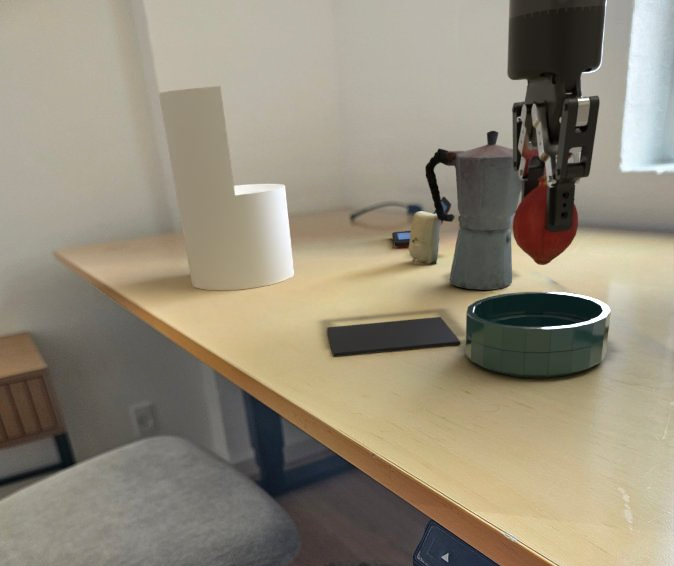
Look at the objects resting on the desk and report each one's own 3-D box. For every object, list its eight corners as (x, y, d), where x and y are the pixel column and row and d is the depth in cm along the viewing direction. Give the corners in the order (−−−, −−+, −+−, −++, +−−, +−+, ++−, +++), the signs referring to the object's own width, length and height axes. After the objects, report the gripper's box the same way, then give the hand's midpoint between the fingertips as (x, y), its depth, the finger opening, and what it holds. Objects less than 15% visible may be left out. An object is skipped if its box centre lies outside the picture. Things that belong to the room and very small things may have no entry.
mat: (440, 319, 81) (440, 316, 80) (460, 344, 72) (460, 341, 71) (327, 330, 80) (327, 327, 80) (333, 356, 71) (333, 353, 71)
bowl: (571, 332, 73) (576, 286, 70) (629, 373, 61) (636, 321, 59) (452, 343, 72) (453, 298, 70) (486, 387, 60) (488, 335, 58)
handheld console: (391, 237, 135) (390, 199, 131) (444, 234, 134) (444, 195, 131) (394, 249, 124) (392, 207, 120) (451, 245, 123) (452, 203, 120)
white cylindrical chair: (192, 295, 102) (156, 90, 89) (191, 273, 117) (160, 96, 104) (301, 282, 104) (282, 81, 92) (286, 262, 120) (268, 87, 107)
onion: (525, 257, 66) (528, 171, 62) (583, 259, 63) (590, 169, 59) (501, 270, 62) (504, 178, 58) (563, 273, 59) (569, 177, 55)
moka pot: (530, 292, 89) (540, 128, 80) (418, 291, 94) (415, 137, 84) (535, 276, 97) (544, 125, 88) (431, 276, 102) (430, 133, 92)
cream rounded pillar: (447, 259, 112) (447, 210, 108) (436, 266, 108) (436, 215, 104) (415, 258, 114) (414, 210, 111) (404, 265, 110) (403, 215, 107)
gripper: (646, -11, 47) (620, 233, 54) (567, 17, 60) (555, 211, 67) (543, -1, 47) (531, 243, 54) (486, 24, 59) (483, 219, 67)
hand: (544, 224), depth 61 cm, fingers closed on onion, 6 cm apart
